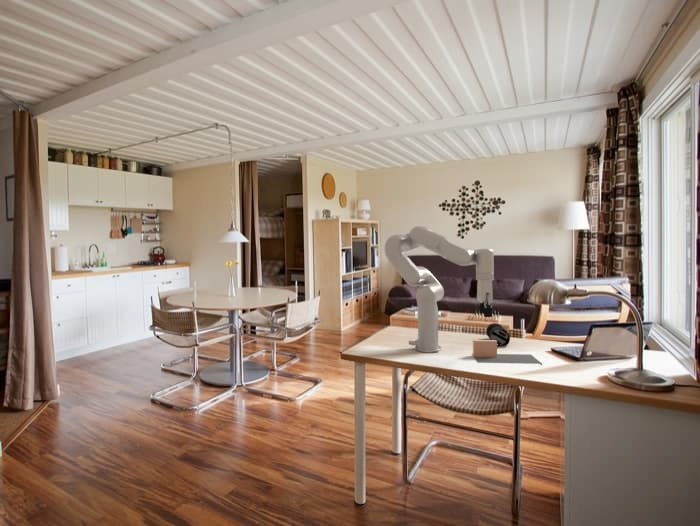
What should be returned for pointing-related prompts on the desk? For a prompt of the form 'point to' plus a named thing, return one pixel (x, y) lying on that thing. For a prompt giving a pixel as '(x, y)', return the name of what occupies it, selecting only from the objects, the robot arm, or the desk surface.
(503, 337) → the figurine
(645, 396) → the desk surface
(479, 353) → the block
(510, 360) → the mat
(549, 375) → the desk surface
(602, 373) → the desk surface
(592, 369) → the desk surface
